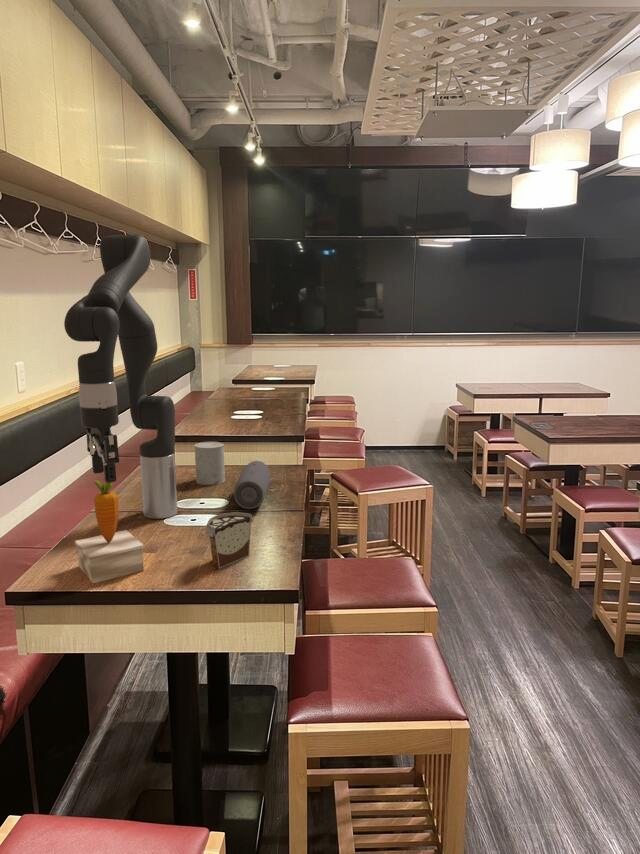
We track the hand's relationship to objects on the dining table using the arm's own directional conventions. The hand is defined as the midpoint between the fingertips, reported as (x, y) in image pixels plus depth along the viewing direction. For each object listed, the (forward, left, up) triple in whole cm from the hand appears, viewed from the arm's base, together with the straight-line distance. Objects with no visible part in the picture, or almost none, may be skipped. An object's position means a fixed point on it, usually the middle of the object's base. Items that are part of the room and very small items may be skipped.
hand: (104, 477), depth 137 cm
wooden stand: (0, 0, -21) cm, 21 cm away
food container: (+10, +23, -21) cm, 33 cm away
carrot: (0, 0, -15) cm, 15 cm away
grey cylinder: (-51, +49, -21) cm, 74 cm away
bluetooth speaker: (-24, +50, -21) cm, 59 cm away
